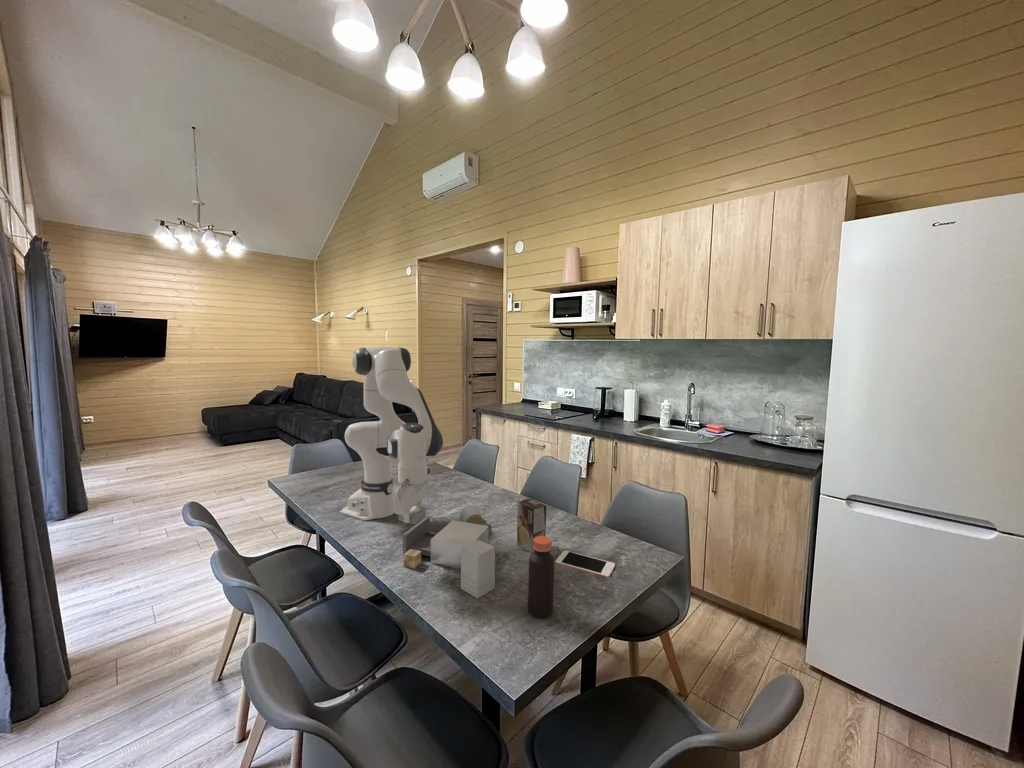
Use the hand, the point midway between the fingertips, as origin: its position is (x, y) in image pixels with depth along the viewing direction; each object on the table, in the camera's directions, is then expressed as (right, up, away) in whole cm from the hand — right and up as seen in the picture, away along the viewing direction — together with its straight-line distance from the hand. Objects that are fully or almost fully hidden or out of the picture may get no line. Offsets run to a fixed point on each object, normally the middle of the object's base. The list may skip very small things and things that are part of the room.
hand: (412, 516), depth 133 cm
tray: (+4, -15, +11) cm, 19 cm away
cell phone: (+56, -18, +4) cm, 59 cm away
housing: (+15, -16, +8) cm, 23 cm away
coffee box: (+39, -16, +15) cm, 44 cm away
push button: (0, -1, 0) cm, 1 cm away
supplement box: (+22, -18, -11) cm, 30 cm away
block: (0, -16, +1) cm, 16 cm away
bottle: (+40, -19, -21) cm, 49 cm away
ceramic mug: (+17, -14, +30) cm, 37 cm away
